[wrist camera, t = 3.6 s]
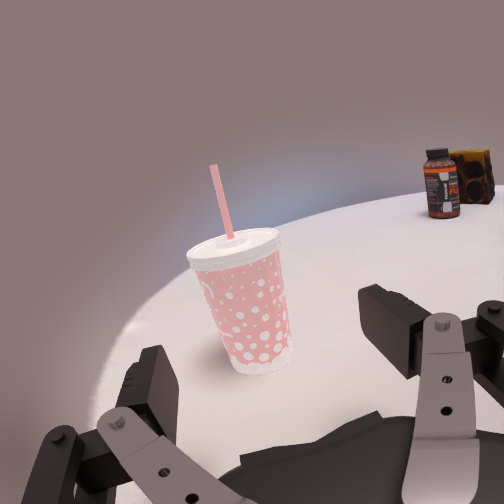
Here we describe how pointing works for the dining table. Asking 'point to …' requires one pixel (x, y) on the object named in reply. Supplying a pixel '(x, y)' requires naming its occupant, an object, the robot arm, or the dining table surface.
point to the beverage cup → (245, 292)
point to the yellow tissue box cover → (474, 175)
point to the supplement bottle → (441, 184)
